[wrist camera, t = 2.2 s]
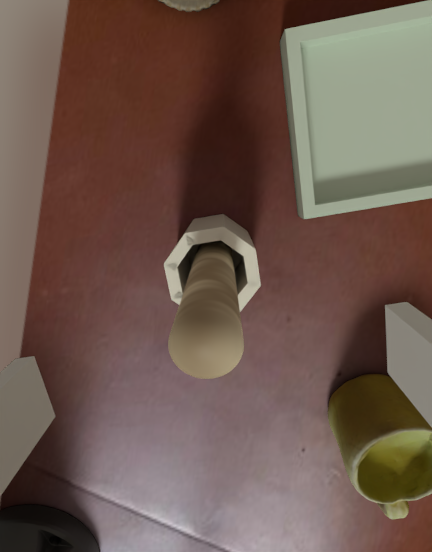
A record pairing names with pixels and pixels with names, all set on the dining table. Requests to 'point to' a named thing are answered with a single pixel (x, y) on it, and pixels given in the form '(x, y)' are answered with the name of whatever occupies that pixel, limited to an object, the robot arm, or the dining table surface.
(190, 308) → the dowel
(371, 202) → the tray
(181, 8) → the seashell
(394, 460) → the mug
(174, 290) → the crock
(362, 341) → the dining table surface
